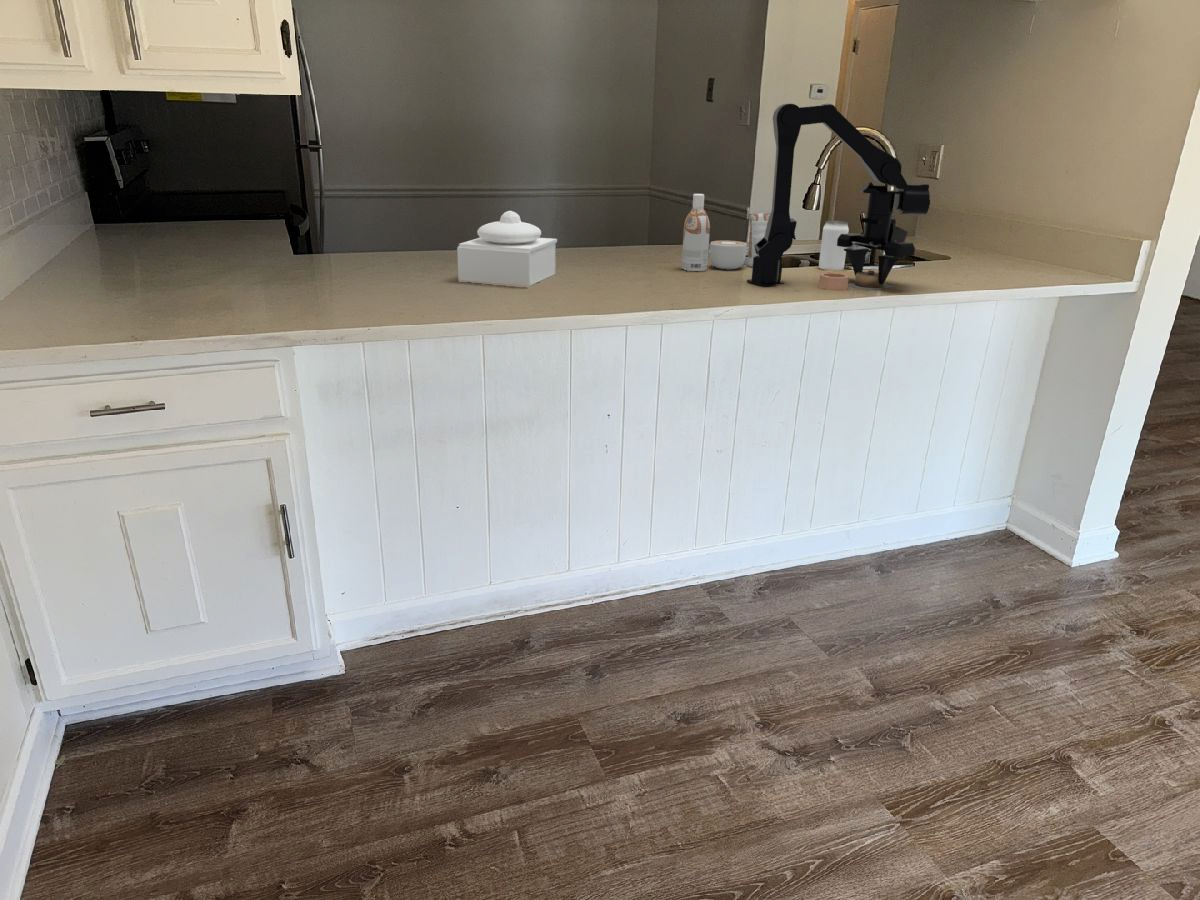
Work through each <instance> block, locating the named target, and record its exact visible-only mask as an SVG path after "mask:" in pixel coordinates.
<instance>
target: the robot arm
mask: <svg viewBox="0 0 1200 900" xmlns="http://www.w3.org/2000/svg"><path fill="white" fill-rule="evenodd" d="M815 124H823V125H824V126H825V127H826V128H827V129H828V130H829V131H830V132H832V134H833V135H835V137H837V138H838V139H839V140H840V141H841V142H842V143H843V144H844V145H845V146H846V147H847V148H848V149H850V151H852V152H853V154H855V155H856V157H857V158H858V159H859V160H860V162H861V163H862V165H863V167H864V168H865V170H866V171H867V173H868V174H869V175H870V177H871V178H872V179H873V180H874V181H876V182H878V183H882V184H885V185H874V184H873V182H871V181H867V183H866V185H864V186H863V187H861V188H859V189H860V190H859V191H860V192H861V193H863V194H868V199H867V206H866V212H865V213H866V215H865V217H861V223H864V228H863V234H861V233H856V232H850V233H849V232H848V234H841V235H840V236H839V237H838V240H837V246H840V247H846V248H844V251H846V255H847V257H848V259H849V262H850V264H851V267H852V270H853V272H854V273H853V274H854V276H855V277H856V273H858V272H864V271H863V270H864V264H865V258H866V256H867V254H868V252H869V251H870V249H873V250H880V251H883V252H884V254H879V255H878V259H877V261H878V268H877V269H878V272H877V273H878V278H879V284H880V285H882V284H885V281H886V280H887V278H888V276H889V274H890V272H891V271H892V269H893V267H894V265H895V264H896V263H897V262H898V261H899V260H900V259H904V258H905V257H913V256H915V251H916V246H915V244H914V243H913V242H910V241H909V242H908V241H906V239H907V236H908V233H909V232H908V231H906V230H905V229H903V228H901V227H899V226H896V221H897V220H896V218H892V217H893V213H894V212H893V211H894V210H897V212H898V214H899V215H909V216H911V215H912V216H917V215H918V216H926V215H927V214H928V212H929V209H930V205H931V199H930V198H931V197H930V195H931V194H930V191H929V190H930V184H928V183H919V184H910V183H909V184H908V183H907V181H906V179H905V178H904V176H903V174H902V163H901V162H900V160H899V159H898V158H896V157H895V156H893V155H891V154H890V153H888V152H887V151H885V150H884V149H881V148H880V147H879V146H876V145H875V144H873V143H872V142H871V141H870V140H869V139H868V138H867V137H866V136H865V135H864V134H862V133H861V131H860V130H859V129H858V128H856V127H855V126H854V125H853V124H852V122H850V121H849V120H848V119H847V118H846V117H845V116H844V115H843V114H842V113H841V112H840V111H839V110H838V109H837V107H836V105H834V104H832V103H823V104H821V105H813V106H812V105H811V106H803V107H799V105H797V104H795V103H784V104H780V105H779V106H778V107H777V108H775V110H774V112H773V116H772V125H773V134H774V142H775V149H776V150H775V163H774V176H773V188H772V189H773V190H772V201H771V202H772V203H771V210H772V211H771V214H770V217H769V220H768V223H767V227H766V231H765V236H764V238H762V239H761V240H760V241H759V242H758V243H757V244H756V245H755V246H754V247H755V251H756V254H757V255H758V256H756V257H753V267H752V270H751V279H746V282H747V283H750V284H754V285H757V286H762V287H770V286H771V287H772V286H776V285H782V284H783V285H784V284H785V282H784V281H782V272H783V255H784V252H787V251H788V250H789V249H790V248H791V247H792V245H793V240H794V241H795V240H796V236H795V234H796V233H795V232H796V228H797V223H798V221H796V220H795V219H794V218H791V215H790V205H791V193H792V182H793V181H792V179H793V167H794V155H795V147H796V145H797V141H798V138H799V135H800V132H801V127H802V126H806V125H815ZM887 185H888V186H889V187H892V188H894V189H898V190H890V189H888V187H887Z"/></svg>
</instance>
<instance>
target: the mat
mask: <svg viewBox="0 0 1200 900" xmlns="http://www.w3.org/2000/svg"><path fill="white" fill-rule="evenodd" d="M848 287H851V288H856V289H860V290H864V291H872V290H873V291H874V290H883V289H890V288H897V287H898V286H896V285H891V284H888V283H884V287H882V288H866V287H860V286H856V285H855V282H848Z"/></svg>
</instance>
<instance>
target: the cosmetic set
mask: <svg viewBox="0 0 1200 900" xmlns="http://www.w3.org/2000/svg"><path fill="white" fill-rule="evenodd" d="M692 197H693V198H692V208H691V210H690V211H689V213H688V214H687V216H686V218H685V220H684V224H683V233H682V235H683V236H682V237H683V238H682V253H681V254H682V256H681V269H684V270H687V271H686V272H689V271H703V272H706V271H707V270H708V261H710V263H711V265H712V266H713V267H715V268H717V269H718V268H719V270H723V269H726V271H727V270H728V271H731V270H732V271H733V269H734V270H737V269H739V268H741V267H742V266H743V265H744V263H745V261H746V257H747V261H746V264H747V266H748V267H750V268H753V257H756V256H758V255H757V254H756V251H755V247H754V246H755V245H756V244H757V243H758V242H759V241H760V240H761V239H762V238H764V236H765V231H766V227H767V223H768V220H769V217H770V214H771V211H772V209H768V210H766V209H763V210H762V209H760V210H749V211H748V216H749V241H748V245H747V242H743V241H738V240H714V241H713V240H712V241H711V242H710V232H711V231H710V230H711V229H710V228H711V224H710V219H709V217H708V214H707V212H706V210H705V208H704V206H705V194H704V193H693V195H692ZM709 245H710V246H709ZM747 246H748V250H747ZM709 247H710V248H709ZM747 251H748V253H747ZM708 257H709V259H708ZM684 270H683V271H684ZM705 270H706V271H705Z"/></svg>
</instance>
